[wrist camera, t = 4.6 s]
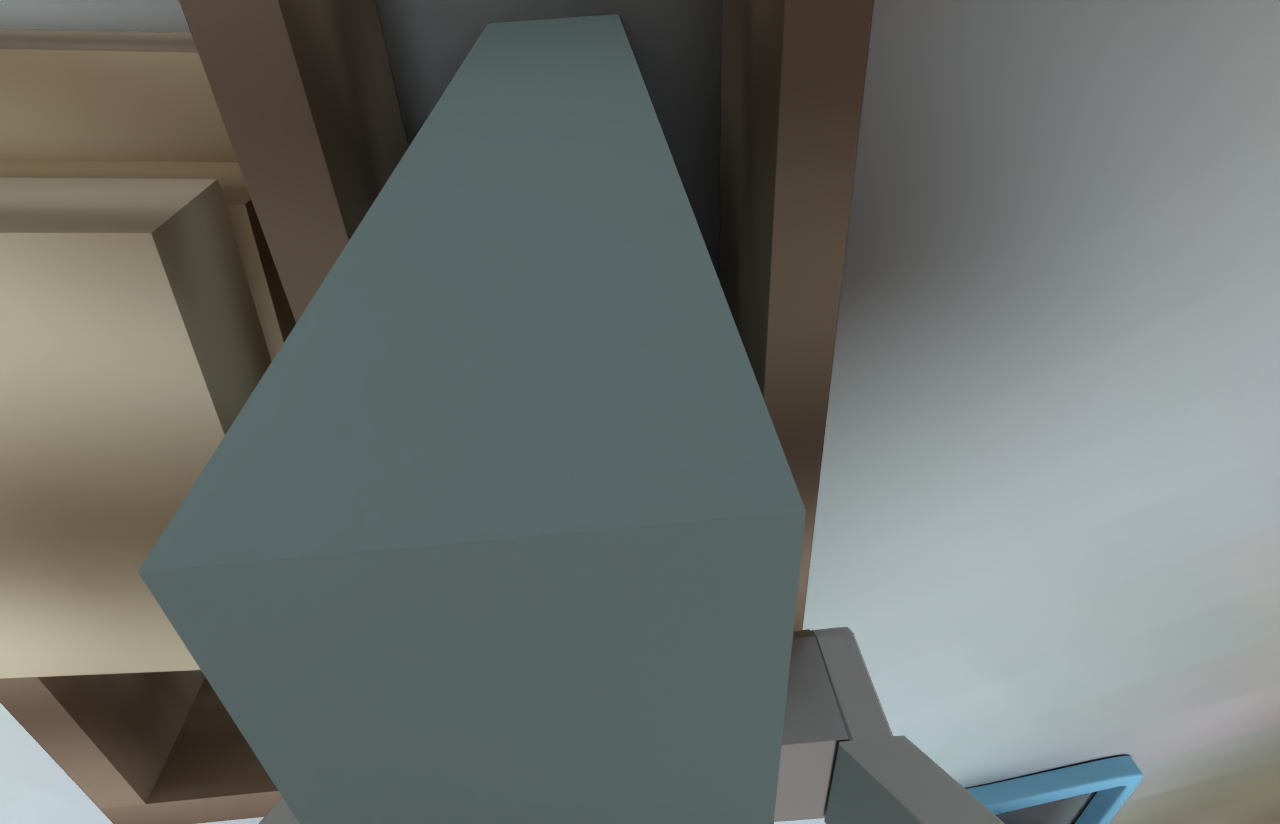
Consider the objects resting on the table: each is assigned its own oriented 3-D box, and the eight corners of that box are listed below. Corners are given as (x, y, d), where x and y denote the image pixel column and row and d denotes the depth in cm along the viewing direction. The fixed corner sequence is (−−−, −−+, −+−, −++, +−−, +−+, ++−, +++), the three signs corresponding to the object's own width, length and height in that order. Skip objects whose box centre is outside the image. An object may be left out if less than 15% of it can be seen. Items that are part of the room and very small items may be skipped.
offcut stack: (-72, 24, 14) (-491, 112, 8) (307, 33, 14) (145, 120, 9) (164, 534, 21) (25, 754, 16) (408, 527, 22) (353, 738, 16)
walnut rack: (-325, -129, 12) (-788, -140, 8) (794, -199, 13) (901, -243, 8) (196, 673, 24) (120, 830, 20) (751, 620, 25) (786, 763, 21)
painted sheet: (487, 23, 14) (136, 571, 3) (618, 13, 14) (805, 511, 3) (567, 544, 22) (563, 1233, 11) (650, 536, 22) (733, 1214, 11)
